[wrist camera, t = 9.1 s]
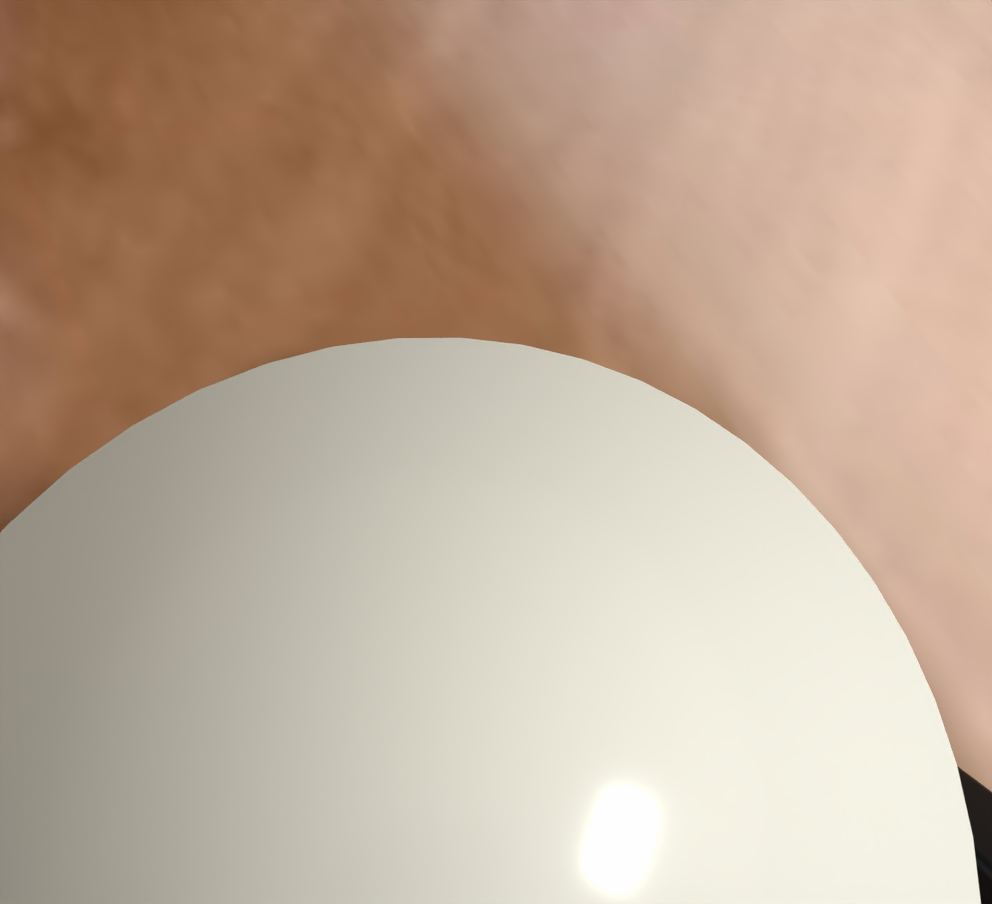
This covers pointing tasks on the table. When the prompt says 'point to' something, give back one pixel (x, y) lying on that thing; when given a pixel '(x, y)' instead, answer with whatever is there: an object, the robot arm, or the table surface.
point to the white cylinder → (456, 656)
